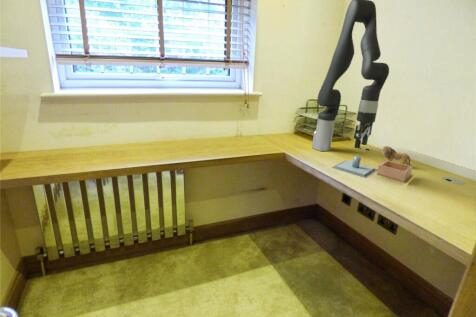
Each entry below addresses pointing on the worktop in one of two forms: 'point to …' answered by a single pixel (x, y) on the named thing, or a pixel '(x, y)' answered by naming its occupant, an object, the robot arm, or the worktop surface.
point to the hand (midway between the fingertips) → (360, 146)
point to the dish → (394, 170)
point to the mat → (354, 173)
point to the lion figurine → (395, 155)
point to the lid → (355, 166)
